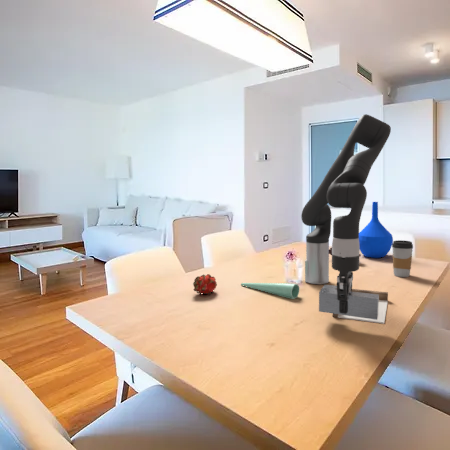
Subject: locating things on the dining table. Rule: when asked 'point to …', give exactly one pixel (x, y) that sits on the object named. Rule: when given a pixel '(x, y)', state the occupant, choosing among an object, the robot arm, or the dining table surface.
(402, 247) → the coffee cup
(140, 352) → the dining table surface
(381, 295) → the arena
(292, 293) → the mint green cone
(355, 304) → the bracket
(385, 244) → the vase
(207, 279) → the dragon fruit
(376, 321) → the mat
